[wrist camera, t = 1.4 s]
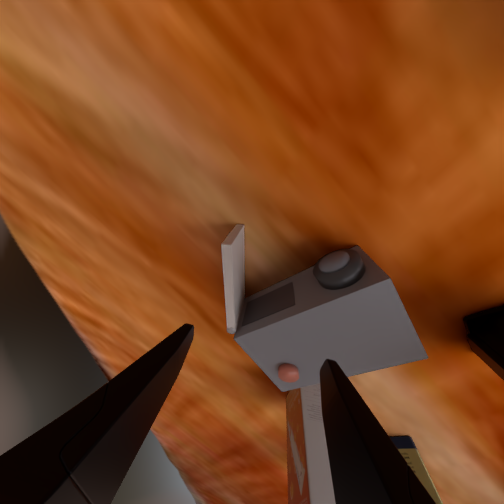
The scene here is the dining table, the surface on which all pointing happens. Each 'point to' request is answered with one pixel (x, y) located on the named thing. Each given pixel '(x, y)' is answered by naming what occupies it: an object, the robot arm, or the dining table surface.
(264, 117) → the dining table surface
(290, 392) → the small box
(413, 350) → the camera block
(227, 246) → the side door
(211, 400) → the dining table surface
